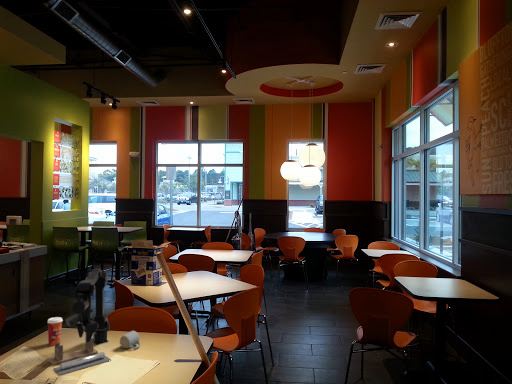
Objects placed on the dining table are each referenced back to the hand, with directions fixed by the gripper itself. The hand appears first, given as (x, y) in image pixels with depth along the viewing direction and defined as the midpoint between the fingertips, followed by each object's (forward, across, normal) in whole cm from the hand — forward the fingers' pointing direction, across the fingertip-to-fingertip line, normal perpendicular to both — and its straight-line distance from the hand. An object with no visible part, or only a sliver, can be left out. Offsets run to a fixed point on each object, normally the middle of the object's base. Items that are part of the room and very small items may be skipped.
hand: (84, 339), depth 184 cm
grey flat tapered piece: (+12, +1, 0) cm, 12 cm away
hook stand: (+12, -11, 0) cm, 16 cm away
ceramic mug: (+12, -5, +28) cm, 31 cm away
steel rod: (+11, +1, 0) cm, 11 cm away
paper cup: (+12, -38, -1) cm, 40 cm away
